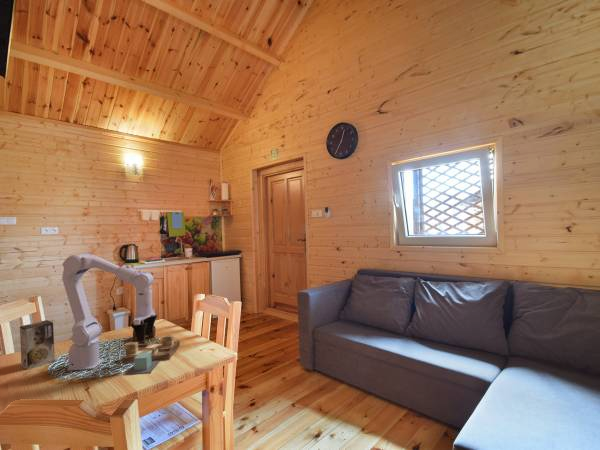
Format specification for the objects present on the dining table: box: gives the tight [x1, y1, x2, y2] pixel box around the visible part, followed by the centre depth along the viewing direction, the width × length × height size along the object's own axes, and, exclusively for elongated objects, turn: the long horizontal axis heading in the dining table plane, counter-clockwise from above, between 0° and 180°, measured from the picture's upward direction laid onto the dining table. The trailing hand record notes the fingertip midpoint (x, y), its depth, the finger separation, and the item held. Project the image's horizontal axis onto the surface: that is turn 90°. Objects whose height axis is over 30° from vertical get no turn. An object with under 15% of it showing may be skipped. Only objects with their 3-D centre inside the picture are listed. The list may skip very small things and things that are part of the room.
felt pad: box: [124, 360, 160, 376], centre depth 117 cm, size 9×9×1 cm
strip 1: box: [124, 341, 158, 356], centre depth 127 cm, size 12×4×5 cm, turn 95°
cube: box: [133, 353, 153, 370], centre depth 117 cm, size 4×4×4 cm
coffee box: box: [19, 319, 56, 370], centre depth 124 cm, size 9×6×16 cm
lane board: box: [121, 340, 181, 364], centre depth 130 cm, size 18×14×2 cm
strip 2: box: [145, 334, 175, 349], centre depth 134 cm, size 11×4×5 cm, turn 95°
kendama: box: [132, 325, 157, 344], centre depth 146 cm, size 6×10×20 cm
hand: (145, 337), depth 122 cm, fingers open, 7 cm apart
